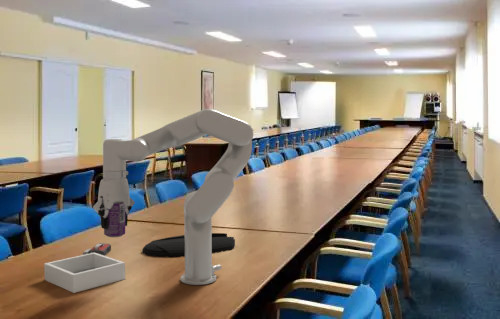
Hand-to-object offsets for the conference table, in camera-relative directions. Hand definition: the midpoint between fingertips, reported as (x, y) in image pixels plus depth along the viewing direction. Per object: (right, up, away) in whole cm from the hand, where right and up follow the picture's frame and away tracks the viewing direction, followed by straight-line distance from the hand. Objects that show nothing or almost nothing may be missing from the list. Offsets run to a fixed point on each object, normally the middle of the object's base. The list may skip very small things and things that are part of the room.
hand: (114, 226), depth 184 cm
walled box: (-12, -20, +7) cm, 24 cm away
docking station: (+20, -16, +50) cm, 56 cm away
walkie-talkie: (-18, -17, +39) cm, 46 cm away
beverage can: (0, -3, 0) cm, 3 cm away
